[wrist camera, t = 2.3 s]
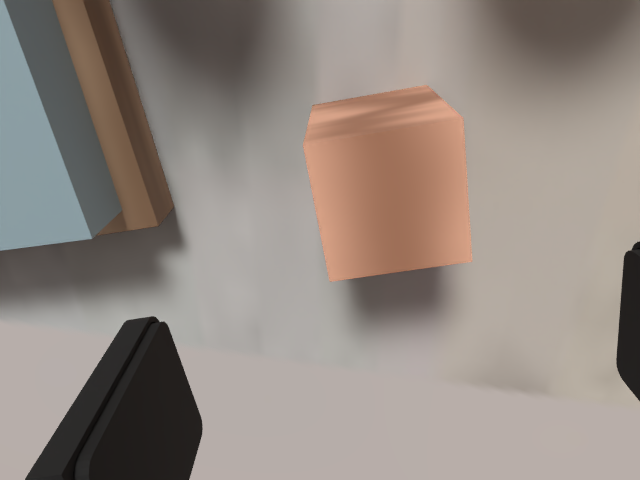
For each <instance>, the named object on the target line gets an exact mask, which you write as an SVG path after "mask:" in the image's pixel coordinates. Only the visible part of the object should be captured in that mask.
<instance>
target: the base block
mask: <svg viewBox="0 0 640 480" xmlns="http://www.w3.org/2000/svg"><path fill="white" fill-rule="evenodd" d="M52 2H53V5H54V8H55V11H56V14H57V17H58V20H59V23H60V26H61V29H62V32H63V35H64V38H65V41H66V44H67V47H68V50H69V53H70V56H71V59H72V62H73V65H74V68H75V71H76V74H77V77H78V80H79V83H80V85H81V88H82V91H83V94H84V97H85V100H86V103H87V106H88V109H89V112H90V115H91V118H92V121H93V124H94V127H95V130H96V133H97V136H98V139H99V142H100V145H101V148H102V151H103V154H104V157H105V160H106V163H107V166H108V169H109V172H110V175H111V178H112V181H113V184H114V187H115V190H116V193H117V196H118V199H119V202H120V205H121V208H122V211H121V212H120V213H119V214H118V215H117V216H116V217H115V218H113V219H112V220H111V221H110V222H109V223H108V224H107V225H106V226H105V227H104V228H103V229H102V230H101V231H100V232H99V233H98V234H97V235H96V236H98V235H104V234H111V233H117V232H124V231H130V230H136V229H143V228H149V227H156V226H159V225H160V224H161V222H162V221H163V220H164V219H165V217H166V216H167V215H168V214H169V212H170V211H171V210H172V209H173V208H174V204H173V201H172V198H171V195H170V191H169V188H168V185H167V182H166V179H165V176H164V172H163V169H162V166H161V163H160V160H159V157H158V153H157V150H156V147H155V144H154V141H153V138H152V134H151V131H150V128H149V125H148V122H147V119H146V115H145V112H144V109H143V106H142V103H141V100H140V96H139V93H138V90H137V87H136V84H135V81H134V77H133V74H132V71H131V68H130V65H129V62H128V58H127V55H126V52H125V49H124V46H123V43H122V39H121V36H120V33H119V30H118V27H117V24H116V20H115V17H114V14H113V11H112V8H111V5H110V1H109V0H52Z"/></svg>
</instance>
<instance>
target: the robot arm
mask: <svg viewBox="0 0 640 480" xmlns="http://www.w3.org/2000/svg"><path fill="white" fill-rule="evenodd" d="M617 368H618V372H619V374H620V376H621V378H622V380H623V381H624V382H625V383H626V385H627V386H628V387H629V388H630V390H631V391H632V392H633V393H634V395H635V396H636V397H637V398H638V400H639V401H640V242H637V243H636V244H634V246H633V248H632V250H631V251H628V252H626V254H625V256H624V265H623V279H622V292H621V306H620V319H619V333H618V346H617ZM201 436H202V420H201V416H200V413H199V410H198V408H197V405H196V402H195V400H194V397H193V394H192V391H191V388H190V385H189V383H188V380H187V377H186V375H185V372H184V369H183V366H182V364H181V360H180V358H179V355H178V352H177V349H176V347H175V344H174V341H173V338H172V335H171V333H170V330H169V327H168V325H167V324H166V323H165V322H159V320H158V319H157V318H156V317H154V316H152V317H146V318H139V319H133V320H127V321H126V322H125V323H124V324H123V326H122V327H121V329H120V330H119V332H118V333H117V335H116V337H115V338H114V340H113V341H112V343H111V344H110V346H109V348H108V349H107V351H106V352H105V354H104V356H103V357H102V359H101V360H100V362H99V363H98V365H97V367H96V368H95V370H94V371H93V373H92V374H91V376H90V378H89V379H88V381H87V382H86V384H85V386H84V387H83V389H82V390H81V392H80V393H79V395H78V397H77V398H76V400H75V401H74V403H73V404H72V406H71V407H70V409H69V411H68V412H67V414H66V415H65V417H64V419H63V420H62V422H61V423H60V425H59V426H58V428H57V430H56V431H55V433H54V434H53V436H52V437H51V439H50V441H49V442H48V444H47V446H46V447H45V448H44V450H43V452H42V454H41V455H40V456H39V458H38V460H37V461H36V463H35V464H34V466H33V467H32V469H31V471H30V472H29V474H28V475H27V477H26V479H25V480H189V478H190V475H191V471H192V468H193V464H194V461H195V457H196V454H197V450H198V447H199V443H200V440H201Z"/></svg>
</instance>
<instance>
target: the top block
mask: <svg viewBox="0 0 640 480" xmlns="http://www.w3.org/2000/svg"><path fill="white" fill-rule="evenodd" d="M121 211H122V208H121V205H120V202H119V199H118V196H117V193H116V190H115V187H114V184H113V181H112V178H111V175H110V172H109V169H108V166H107V163H106V160H105V157H104V154H103V151H102V148H101V145H100V142H99V139H98V136H97V133H96V130H95V127H94V124H93V121H92V118H91V115H90V112H89V109H88V106H87V103H86V100H85V97H84V94H83V91H82V88H81V85H80V83H79V80H78V77H77V74H76V71H75V68H74V65H73V62H72V59H71V56H70V53H69V50H68V47H67V44H66V41H65V38H64V35H63V32H62V29H61V26H60V23H59V20H58V17H57V14H56V11H55V8H54V5H53V2H52V0H0V251H2V250H10V249H18V248H25V247H33V246H41V245H48V244H56V243H64V242H71V241H79V240H87V239H92V238H94V237H95V236H96V235H97V234H98V233H99V232H100V231H101V230H102V229H103V228H104V227H105V226H106V225H107V224H108V223H109V222H110V221H111V220H112V219H113V218H115V217H116V216H117V215H118V214H119V213H120V212H121Z"/></svg>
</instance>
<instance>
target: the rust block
mask: <svg viewBox="0 0 640 480" xmlns="http://www.w3.org/2000/svg"><path fill="white" fill-rule="evenodd" d="M303 148H304V153H305V158H306V163H307V168H308V173H309V178H310V183H311V189H312V194H313V199H314V204H315V209H316V214H317V219H318V224H319V229H320V234H321V240H322V245H323V250H324V255H325V260H326V265H327V270H328V275H329V280H330V282H332V281H339V280H346V279H353V278H360V277H367V276H374V275H381V274H388V273H395V272H402V271H409V270H416V269H423V268H430V267H437V266H444V265H452V264H459V263H466V262H472V250H471V234H470V217H469V201H468V185H467V169H466V153H465V137H464V120H463V117H462V116H460V115H459V114H458V113H457V112H456V111H455V110H454V109H453V108H452V107H451V106H449V105H448V104H447V103H446V102H445V101H444V100H443V99H442V98H441V97H440V96H438V95H437V94H436V93H435V92H434V91H433V90H432V89H431V88H430V87H429V86H427V85H424V86H418V87H412V88H407V89H401V90H396V91H390V92H384V93H379V94H373V95H367V96H362V97H356V98H351V99H345V100H339V101H334V102H328V103H322V104H317V105H313V106H312V110H311V114H310V118H309V122H308V127H307V131H306V135H305V139H304V143H303Z"/></svg>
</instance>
